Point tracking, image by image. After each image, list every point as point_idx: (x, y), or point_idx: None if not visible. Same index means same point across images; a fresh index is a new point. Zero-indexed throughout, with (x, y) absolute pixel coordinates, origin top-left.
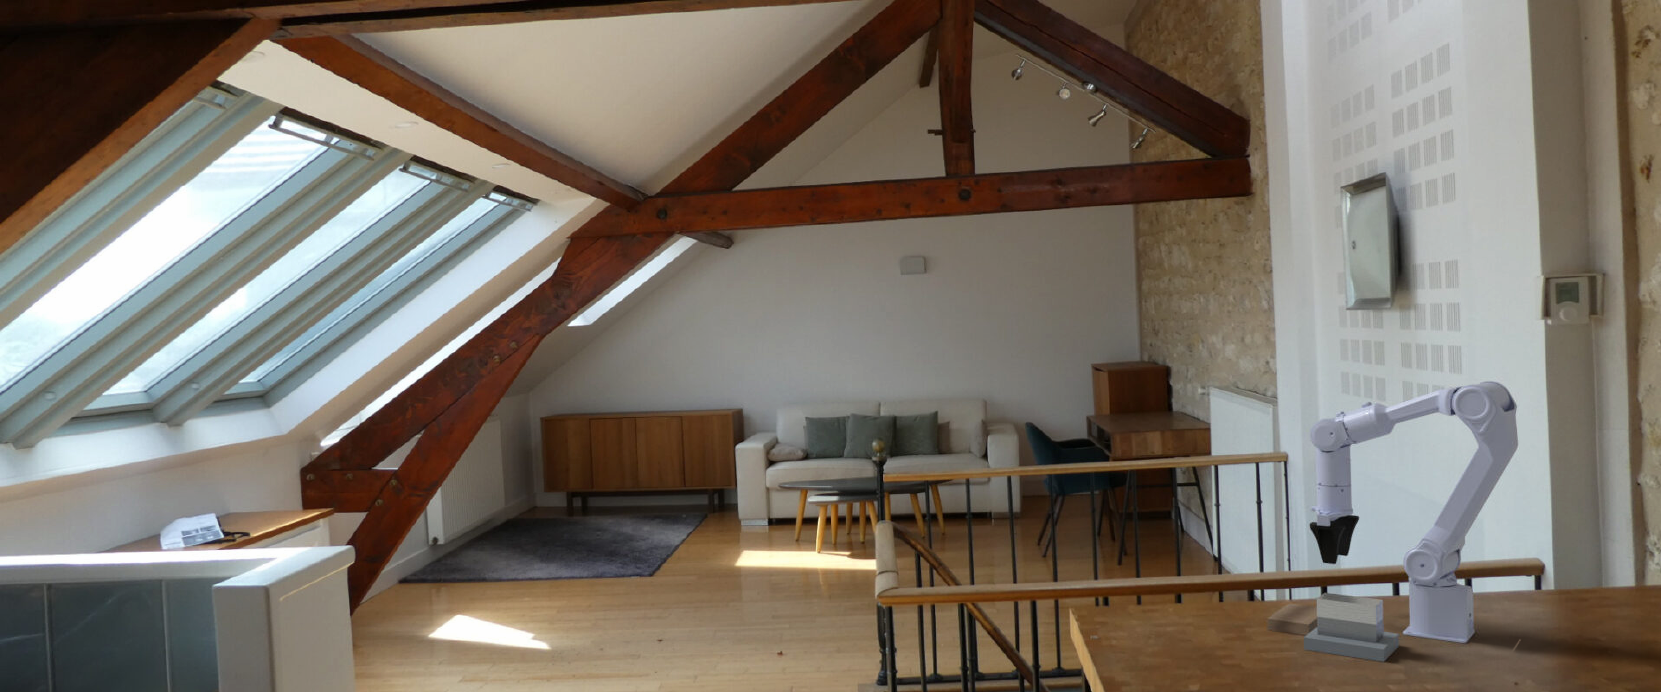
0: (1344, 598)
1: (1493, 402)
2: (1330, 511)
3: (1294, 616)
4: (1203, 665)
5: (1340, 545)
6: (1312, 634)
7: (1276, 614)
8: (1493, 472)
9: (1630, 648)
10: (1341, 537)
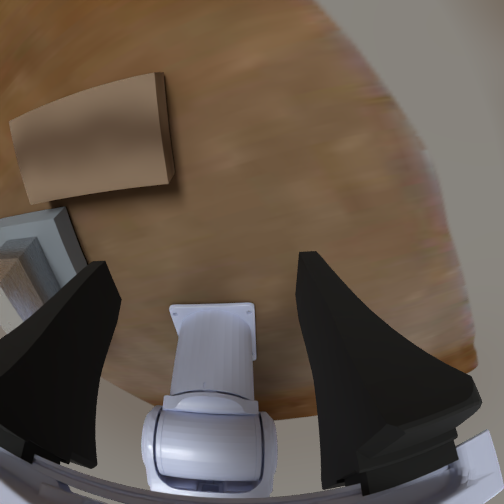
0: (6, 318)
1: None
2: None
3: (51, 152)
4: None
5: (307, 310)
6: (2, 234)
7: (39, 114)
8: None
9: (277, 416)
10: (321, 351)
